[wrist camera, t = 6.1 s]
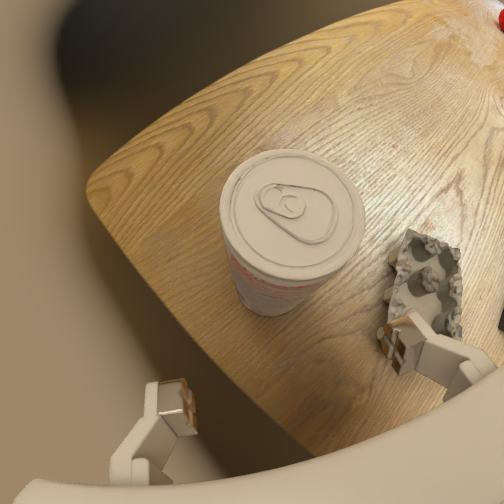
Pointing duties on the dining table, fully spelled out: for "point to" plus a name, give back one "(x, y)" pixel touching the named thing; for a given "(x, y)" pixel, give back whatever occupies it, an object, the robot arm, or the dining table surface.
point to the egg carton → (426, 284)
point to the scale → (502, 322)
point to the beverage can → (288, 227)
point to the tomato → (501, 19)
